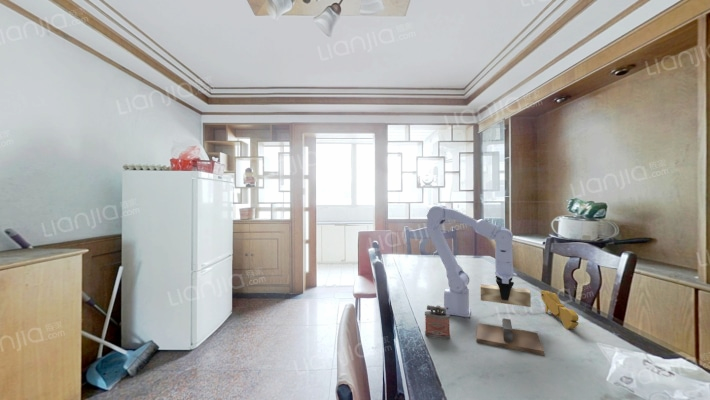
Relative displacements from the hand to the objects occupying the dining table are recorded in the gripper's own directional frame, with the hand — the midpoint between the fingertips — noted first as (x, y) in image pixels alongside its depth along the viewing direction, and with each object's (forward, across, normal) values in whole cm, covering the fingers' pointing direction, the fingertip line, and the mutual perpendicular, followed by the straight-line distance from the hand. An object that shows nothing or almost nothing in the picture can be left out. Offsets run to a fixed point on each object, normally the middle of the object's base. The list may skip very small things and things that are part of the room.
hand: (504, 297), depth 101 cm
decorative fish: (+9, +10, -18) cm, 23 cm away
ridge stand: (+9, -14, 0) cm, 17 cm away
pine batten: (+2, 0, 0) cm, 2 cm away
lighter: (+9, -21, +21) cm, 31 cm away
